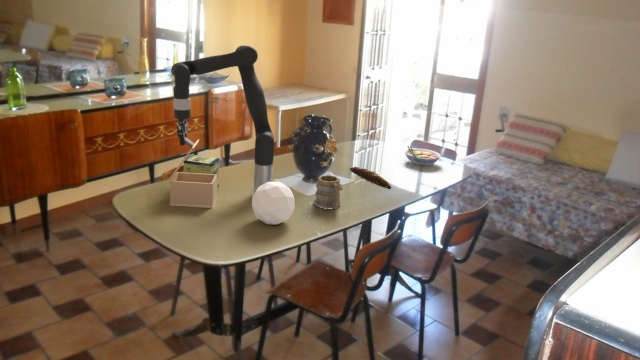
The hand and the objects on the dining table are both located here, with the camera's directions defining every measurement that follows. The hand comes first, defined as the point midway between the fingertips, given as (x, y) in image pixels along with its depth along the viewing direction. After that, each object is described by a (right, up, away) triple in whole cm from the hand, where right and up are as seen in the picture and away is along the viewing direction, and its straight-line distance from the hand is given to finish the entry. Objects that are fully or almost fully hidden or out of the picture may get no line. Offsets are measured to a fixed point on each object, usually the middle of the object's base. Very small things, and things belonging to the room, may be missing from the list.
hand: (183, 143), depth 261 cm
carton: (+3, -27, +9) cm, 29 cm away
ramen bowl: (+129, -7, +97) cm, 161 cm away
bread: (+93, -17, +62) cm, 113 cm away
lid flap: (0, -8, +3) cm, 8 cm away
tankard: (+69, -31, +15) cm, 77 cm away
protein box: (+2, -21, +28) cm, 35 cm away
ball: (+42, -36, -7) cm, 56 cm away
